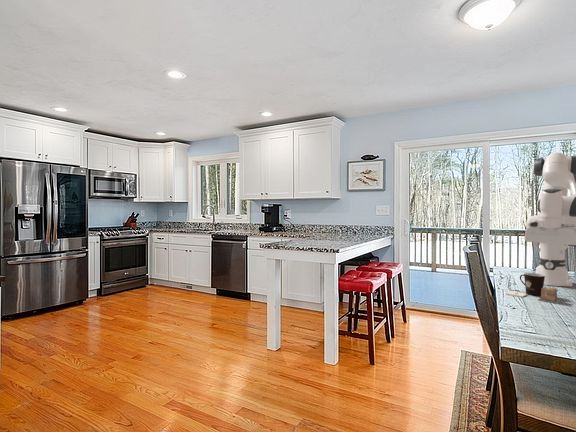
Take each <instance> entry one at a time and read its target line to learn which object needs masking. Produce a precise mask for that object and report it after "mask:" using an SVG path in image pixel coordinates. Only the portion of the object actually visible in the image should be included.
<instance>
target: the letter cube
mask: <svg viewBox="0 0 576 432" xmlns="http://www.w3.org/2000/svg"><path fill="white" fill-rule="evenodd" d="M540 298H541V299H543V300H549V301H556V300H557V299H558V288H554V287H546V286H543V288H541V296H540Z"/></svg>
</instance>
